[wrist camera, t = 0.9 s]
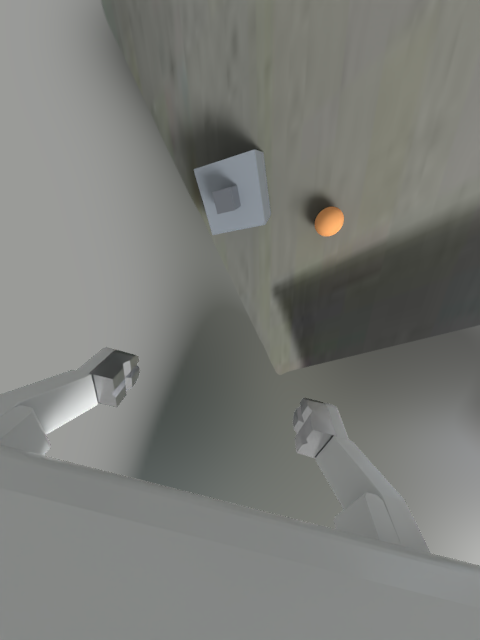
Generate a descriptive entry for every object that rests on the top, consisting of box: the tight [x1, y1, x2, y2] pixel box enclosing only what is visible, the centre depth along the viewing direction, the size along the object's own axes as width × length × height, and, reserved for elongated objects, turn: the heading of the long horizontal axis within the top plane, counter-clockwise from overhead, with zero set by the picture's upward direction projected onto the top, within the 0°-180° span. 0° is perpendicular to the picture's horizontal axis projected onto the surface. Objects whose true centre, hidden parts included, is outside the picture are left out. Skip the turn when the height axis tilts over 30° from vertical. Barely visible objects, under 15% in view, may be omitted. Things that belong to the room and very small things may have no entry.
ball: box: [315, 207, 344, 236], centre depth 37 cm, size 5×5×5 cm
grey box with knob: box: [194, 149, 271, 235], centre depth 35 cm, size 10×10×13 cm
